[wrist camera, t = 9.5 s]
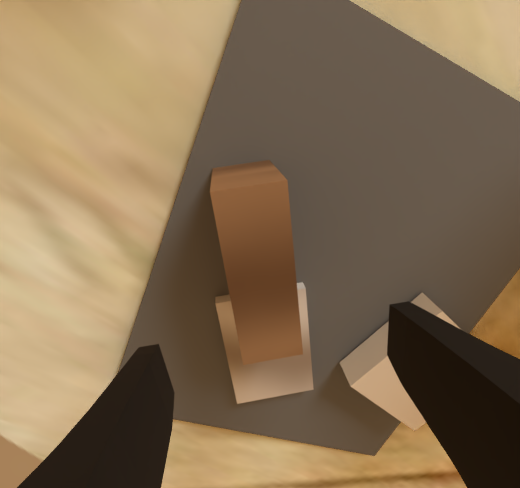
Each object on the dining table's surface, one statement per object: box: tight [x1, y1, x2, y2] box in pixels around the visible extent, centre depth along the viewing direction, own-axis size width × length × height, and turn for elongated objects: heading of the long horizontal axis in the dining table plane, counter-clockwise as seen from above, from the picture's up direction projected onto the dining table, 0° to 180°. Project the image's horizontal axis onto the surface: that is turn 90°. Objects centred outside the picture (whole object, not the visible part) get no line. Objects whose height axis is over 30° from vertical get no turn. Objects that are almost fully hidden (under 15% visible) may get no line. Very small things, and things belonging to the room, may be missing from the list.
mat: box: [118, 0, 520, 456], centre depth 17 cm, size 18×22×1 cm
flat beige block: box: [340, 293, 460, 431], centre depth 18 cm, size 2×6×6 cm
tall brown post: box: [210, 160, 314, 404], centre depth 14 cm, size 13×4×4 cm, turn 7°
